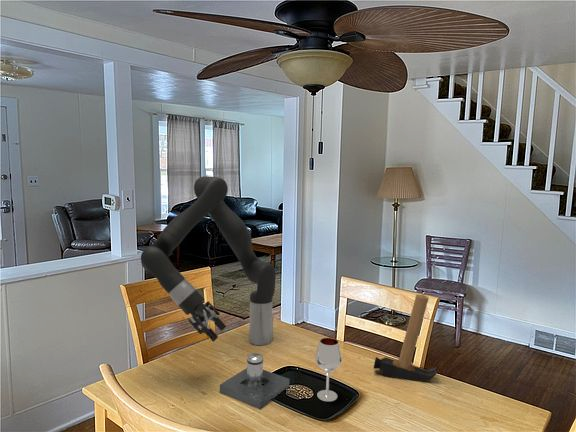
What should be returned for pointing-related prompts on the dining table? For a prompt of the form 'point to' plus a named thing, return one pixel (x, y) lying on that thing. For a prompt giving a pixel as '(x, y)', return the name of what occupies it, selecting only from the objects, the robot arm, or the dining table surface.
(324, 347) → the wineglass
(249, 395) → the grey square frame
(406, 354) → the hammer
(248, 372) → the cylinder
